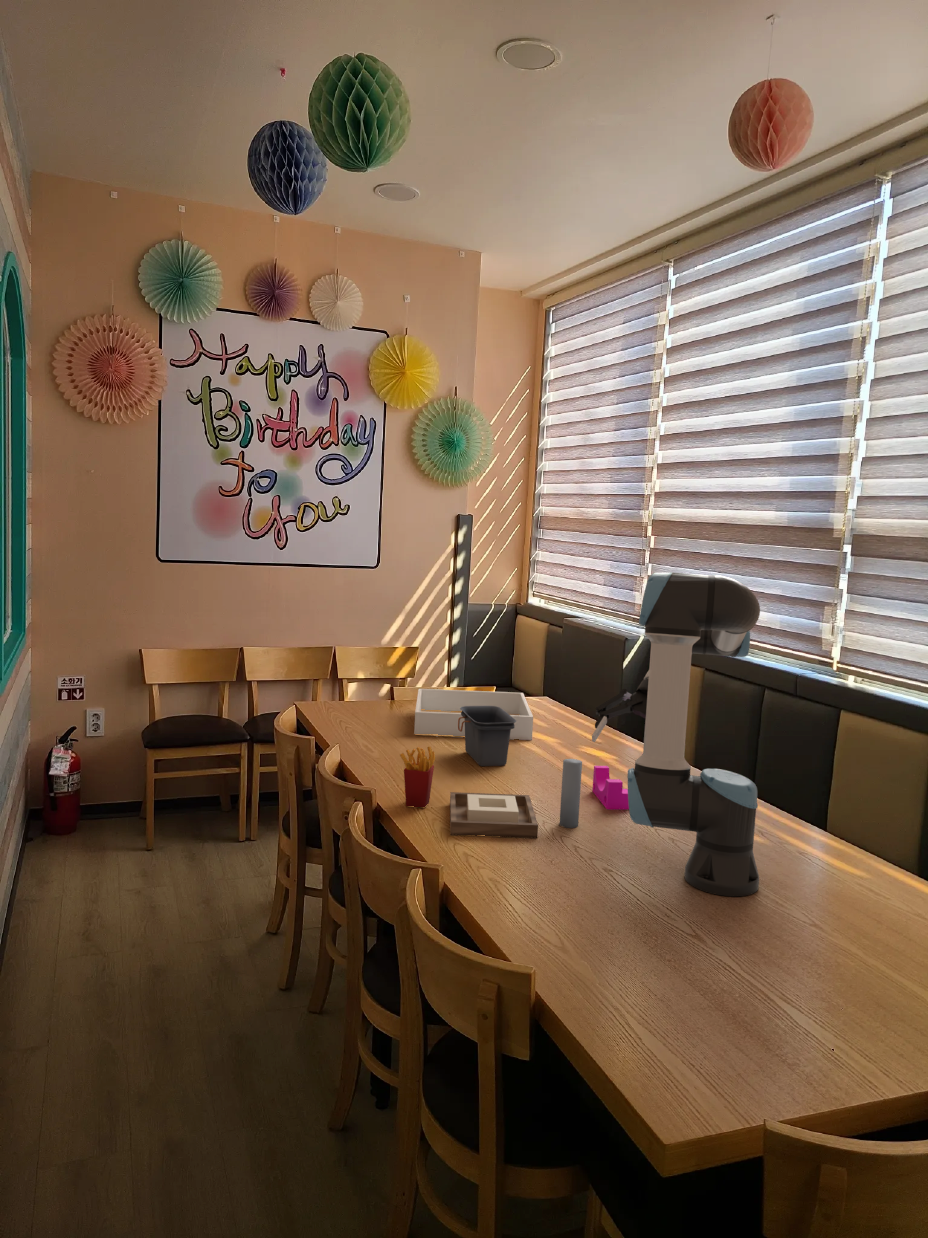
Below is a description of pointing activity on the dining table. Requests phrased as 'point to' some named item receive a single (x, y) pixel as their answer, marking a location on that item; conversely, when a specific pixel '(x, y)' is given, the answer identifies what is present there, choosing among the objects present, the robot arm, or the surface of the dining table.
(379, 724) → the dining table surface
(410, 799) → the french fries
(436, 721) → the white shallow tray
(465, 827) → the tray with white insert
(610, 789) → the toy block
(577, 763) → the peg
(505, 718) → the storage bin
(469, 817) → the bore block
